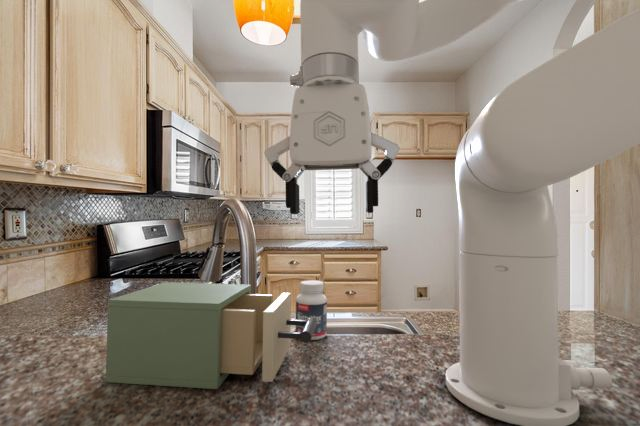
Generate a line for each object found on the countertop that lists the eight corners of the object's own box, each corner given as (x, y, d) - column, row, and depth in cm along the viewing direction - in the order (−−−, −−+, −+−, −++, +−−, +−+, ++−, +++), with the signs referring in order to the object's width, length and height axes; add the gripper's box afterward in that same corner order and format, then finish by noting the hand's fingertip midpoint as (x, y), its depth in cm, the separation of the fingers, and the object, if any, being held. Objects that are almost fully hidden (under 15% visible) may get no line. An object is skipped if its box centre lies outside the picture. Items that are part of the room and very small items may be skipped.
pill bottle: (292, 339, 52) (292, 284, 52) (298, 329, 57) (299, 279, 57) (324, 341, 51) (325, 285, 51) (328, 331, 56) (328, 280, 56)
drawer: (318, 348, 46) (318, 293, 46) (308, 384, 36) (309, 313, 36) (207, 342, 48) (208, 290, 48) (167, 375, 37) (169, 308, 38)
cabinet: (250, 349, 48) (251, 284, 48) (217, 389, 36) (218, 303, 36) (163, 345, 49) (165, 282, 49) (105, 382, 37) (107, 299, 38)
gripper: (256, 72, 39) (257, 213, 38) (402, 63, 37) (405, 210, 36) (272, 97, 46) (272, 215, 46) (393, 90, 45) (396, 213, 44)
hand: (331, 213), depth 41 cm, fingers open, 9 cm apart
